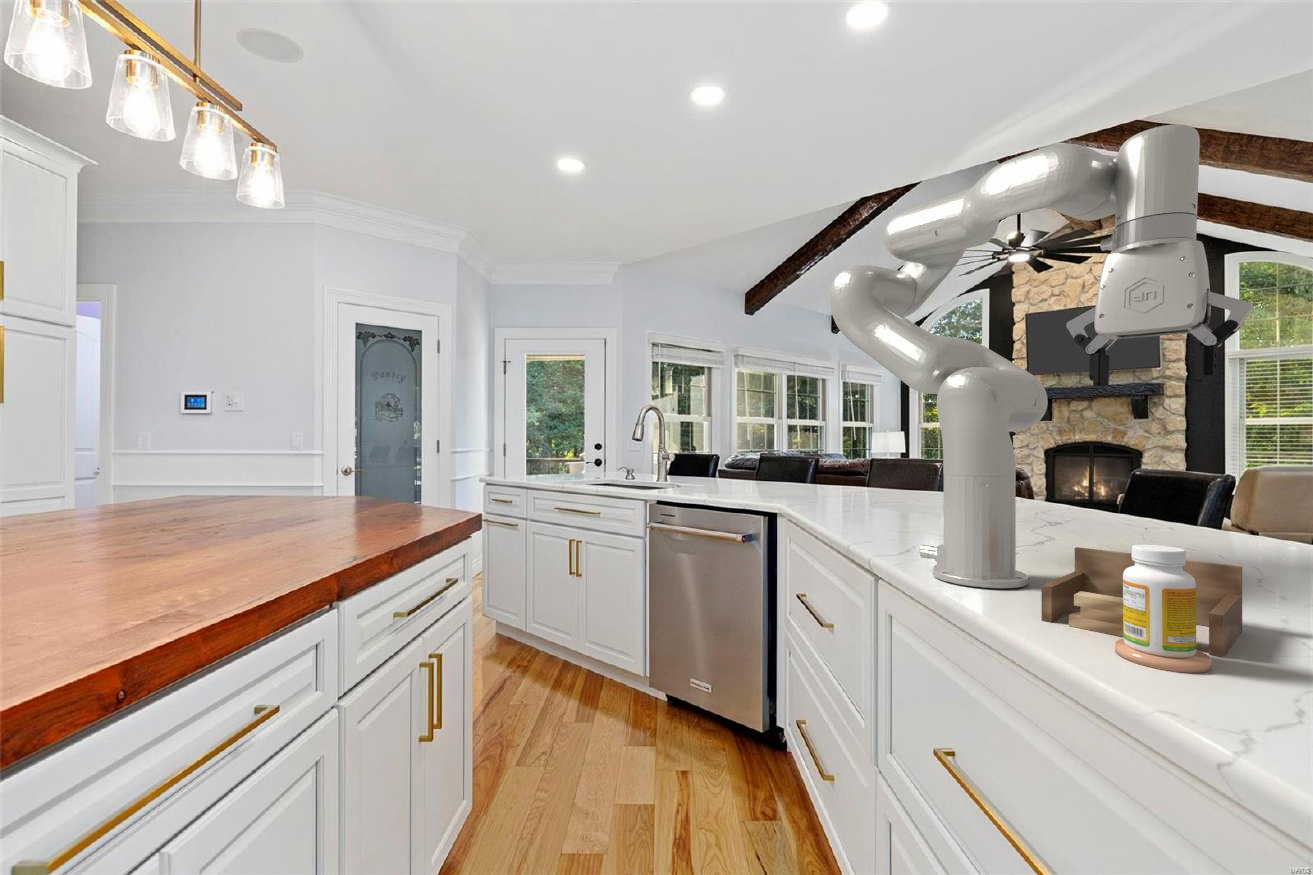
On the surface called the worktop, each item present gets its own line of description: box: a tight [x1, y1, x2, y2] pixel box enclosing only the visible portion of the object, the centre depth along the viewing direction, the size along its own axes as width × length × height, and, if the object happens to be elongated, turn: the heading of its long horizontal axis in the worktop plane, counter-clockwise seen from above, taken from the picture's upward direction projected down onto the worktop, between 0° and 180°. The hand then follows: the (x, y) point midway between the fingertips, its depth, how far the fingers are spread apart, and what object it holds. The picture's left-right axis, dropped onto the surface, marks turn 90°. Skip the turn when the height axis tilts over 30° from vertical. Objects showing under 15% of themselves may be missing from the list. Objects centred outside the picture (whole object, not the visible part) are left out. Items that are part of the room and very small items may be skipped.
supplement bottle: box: [1122, 544, 1197, 658], centre depth 58 cm, size 5×5×10 cm
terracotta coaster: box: [1114, 638, 1212, 674], centre depth 57 cm, size 7×7×1 cm
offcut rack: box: [1041, 546, 1243, 658], centre depth 68 cm, size 15×13×7 cm
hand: (1148, 384), depth 72 cm, fingers open, 9 cm apart
